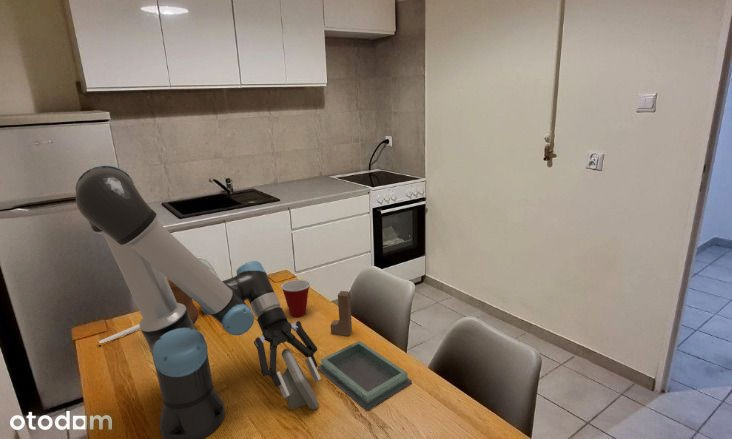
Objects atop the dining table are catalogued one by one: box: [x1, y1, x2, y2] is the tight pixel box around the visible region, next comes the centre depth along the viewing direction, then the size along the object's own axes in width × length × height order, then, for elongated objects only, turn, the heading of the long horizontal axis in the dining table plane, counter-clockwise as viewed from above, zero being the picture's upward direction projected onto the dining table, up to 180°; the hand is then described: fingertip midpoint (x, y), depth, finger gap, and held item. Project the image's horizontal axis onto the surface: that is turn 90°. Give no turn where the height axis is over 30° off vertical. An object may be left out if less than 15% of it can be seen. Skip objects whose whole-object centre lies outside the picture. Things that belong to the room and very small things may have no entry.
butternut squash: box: [166, 277, 199, 325], centre depth 143 cm, size 14×13×25 cm
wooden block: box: [330, 290, 353, 337], centre depth 142 cm, size 7×3×15 cm, turn 74°
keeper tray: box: [317, 340, 413, 412], centre depth 121 cm, size 16×23×4 cm
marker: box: [97, 323, 140, 343], centre depth 149 cm, size 18×2×2 cm, turn 141°
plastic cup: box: [280, 279, 311, 318], centre depth 157 cm, size 11×11×12 cm
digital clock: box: [281, 348, 319, 410], centre depth 114 cm, size 16×9×11 cm, turn 13°
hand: (302, 388), depth 112 cm, fingers open, 9 cm apart
